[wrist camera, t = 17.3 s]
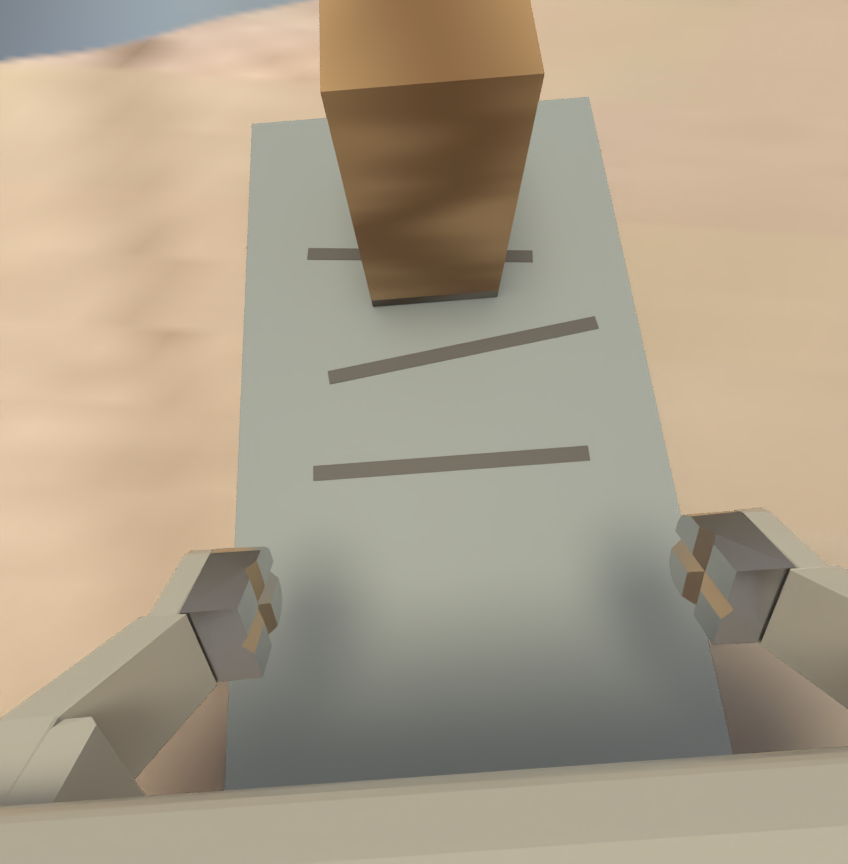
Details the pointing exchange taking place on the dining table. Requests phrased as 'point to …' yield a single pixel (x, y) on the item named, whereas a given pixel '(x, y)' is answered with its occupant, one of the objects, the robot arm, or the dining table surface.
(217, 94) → the dining table surface
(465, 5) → the block
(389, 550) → the board
